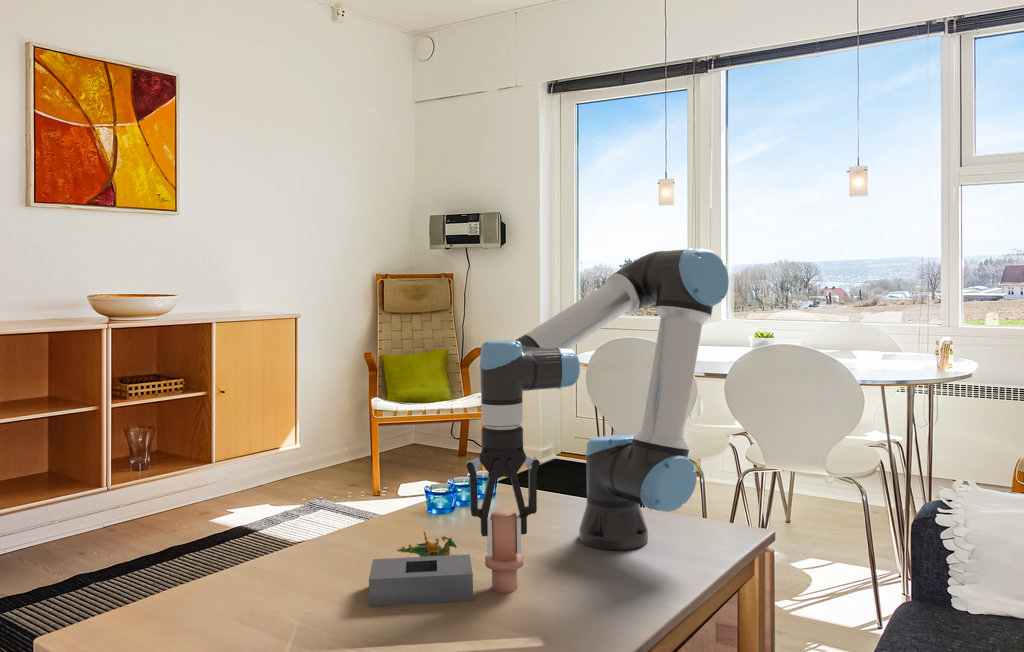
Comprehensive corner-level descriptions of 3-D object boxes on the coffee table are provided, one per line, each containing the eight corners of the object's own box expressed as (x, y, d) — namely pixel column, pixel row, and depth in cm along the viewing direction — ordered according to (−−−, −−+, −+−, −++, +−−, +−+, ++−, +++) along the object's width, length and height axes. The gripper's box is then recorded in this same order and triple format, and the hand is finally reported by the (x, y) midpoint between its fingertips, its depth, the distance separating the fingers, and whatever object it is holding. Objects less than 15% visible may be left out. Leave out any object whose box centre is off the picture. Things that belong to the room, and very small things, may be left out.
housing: (470, 585, 144) (469, 554, 144) (473, 607, 134) (472, 573, 134) (373, 590, 142) (373, 559, 142) (369, 613, 132) (368, 579, 132)
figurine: (458, 571, 152) (457, 530, 151) (397, 576, 149) (396, 535, 149) (455, 565, 155) (455, 526, 154) (396, 571, 152) (395, 530, 152)
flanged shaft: (521, 580, 144) (520, 508, 143) (526, 595, 137) (525, 519, 136) (484, 582, 143) (483, 509, 142) (487, 597, 136) (485, 521, 135)
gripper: (547, 420, 143) (548, 543, 144) (452, 423, 141) (455, 547, 142) (553, 427, 136) (555, 556, 137) (454, 431, 134) (456, 562, 135)
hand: (504, 552), depth 140 cm, fingers closed on flanged shaft, 5 cm apart
